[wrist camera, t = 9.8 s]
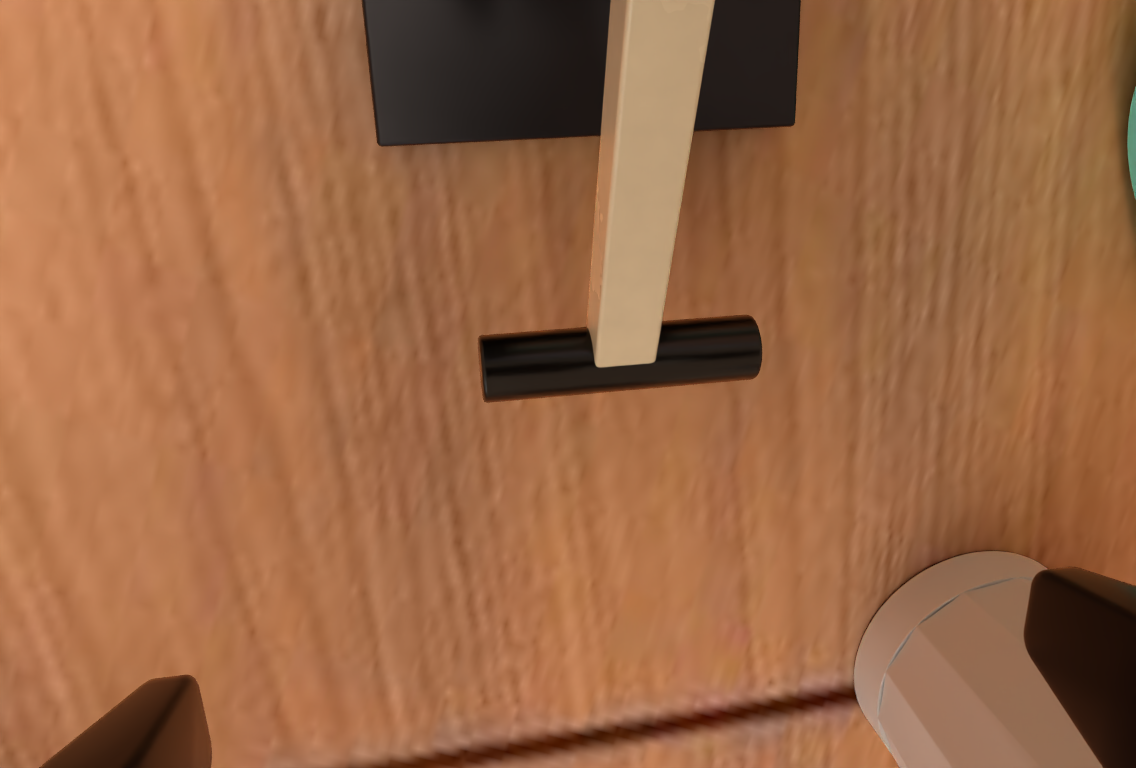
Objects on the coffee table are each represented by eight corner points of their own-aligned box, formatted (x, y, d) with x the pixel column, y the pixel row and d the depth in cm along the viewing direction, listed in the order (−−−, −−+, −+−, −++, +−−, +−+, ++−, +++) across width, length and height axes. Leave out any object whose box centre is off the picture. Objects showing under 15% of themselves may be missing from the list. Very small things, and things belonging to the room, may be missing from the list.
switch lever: (728, 325, 17) (764, 417, 15) (476, 345, 16) (487, 442, 15) (952, -588, 8) (1092, -595, 6) (419, -623, 7) (431, -639, 6)
